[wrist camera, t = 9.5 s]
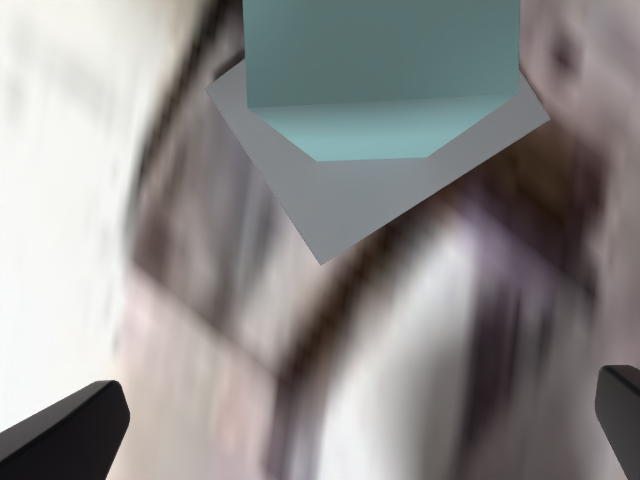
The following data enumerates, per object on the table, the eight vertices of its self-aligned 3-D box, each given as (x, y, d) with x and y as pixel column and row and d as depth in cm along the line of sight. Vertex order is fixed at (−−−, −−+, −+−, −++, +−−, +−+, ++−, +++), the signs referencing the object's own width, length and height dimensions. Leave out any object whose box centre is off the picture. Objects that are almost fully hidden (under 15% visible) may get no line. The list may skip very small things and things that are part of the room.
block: (426, 157, 18) (517, 93, 7) (316, 161, 19) (247, 108, 8) (426, 41, 18) (525, -216, 7) (313, 49, 18) (235, -174, 7)
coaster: (539, 123, 18) (550, 118, 17) (323, 261, 20) (320, 265, 19) (421, -61, 18) (425, -79, 17) (214, 95, 20) (204, 88, 19)
